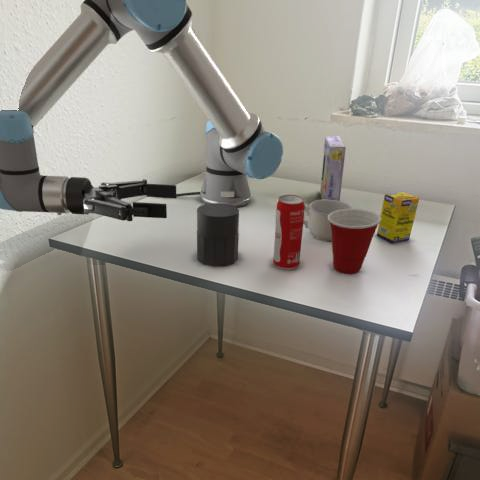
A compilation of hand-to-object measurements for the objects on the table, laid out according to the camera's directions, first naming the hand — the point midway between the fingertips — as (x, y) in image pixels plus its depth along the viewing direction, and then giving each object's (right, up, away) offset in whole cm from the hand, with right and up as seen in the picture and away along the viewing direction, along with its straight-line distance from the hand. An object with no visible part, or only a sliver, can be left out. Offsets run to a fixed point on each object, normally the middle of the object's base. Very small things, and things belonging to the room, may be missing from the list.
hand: (171, 200), depth 99 cm
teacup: (+35, -4, +20) cm, 41 cm away
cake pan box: (+42, +12, +47) cm, 64 cm away
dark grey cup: (+9, -11, +6) cm, 16 cm away
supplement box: (+53, -4, +21) cm, 57 cm away
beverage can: (+24, -13, +5) cm, 28 cm away
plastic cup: (+37, -14, +4) cm, 40 cm away
